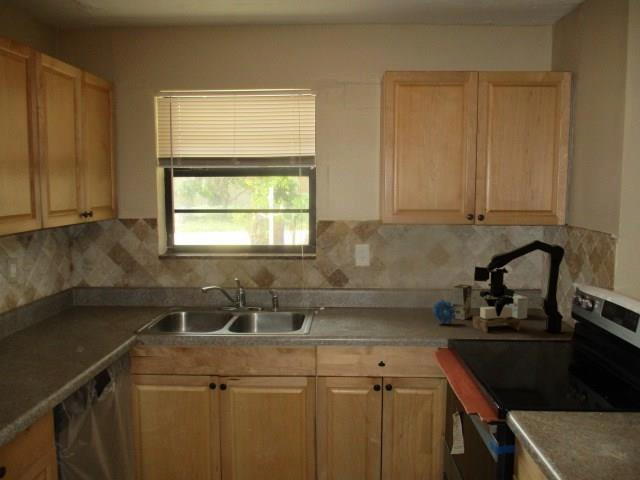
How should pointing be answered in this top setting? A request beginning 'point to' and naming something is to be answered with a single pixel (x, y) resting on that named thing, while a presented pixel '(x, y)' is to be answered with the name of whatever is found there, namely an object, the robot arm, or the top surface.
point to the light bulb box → (519, 306)
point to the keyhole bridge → (483, 324)
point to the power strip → (491, 312)
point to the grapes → (444, 311)
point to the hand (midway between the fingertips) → (495, 315)
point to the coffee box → (462, 301)
